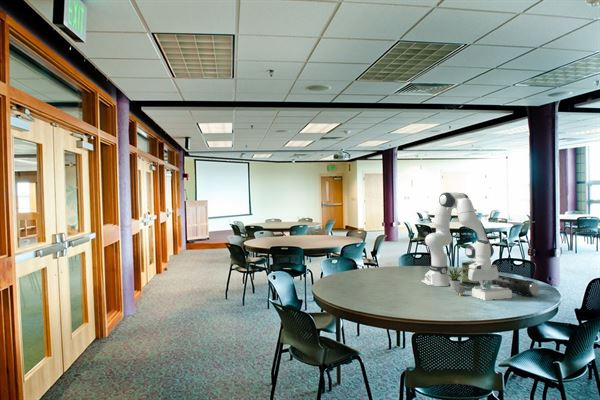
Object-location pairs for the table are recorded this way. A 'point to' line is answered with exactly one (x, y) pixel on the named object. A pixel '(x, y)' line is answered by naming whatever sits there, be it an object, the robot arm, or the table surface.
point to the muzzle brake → (517, 285)
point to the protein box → (465, 273)
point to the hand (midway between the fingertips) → (483, 286)
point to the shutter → (489, 287)
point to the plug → (460, 290)
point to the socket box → (491, 293)
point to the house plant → (454, 278)
